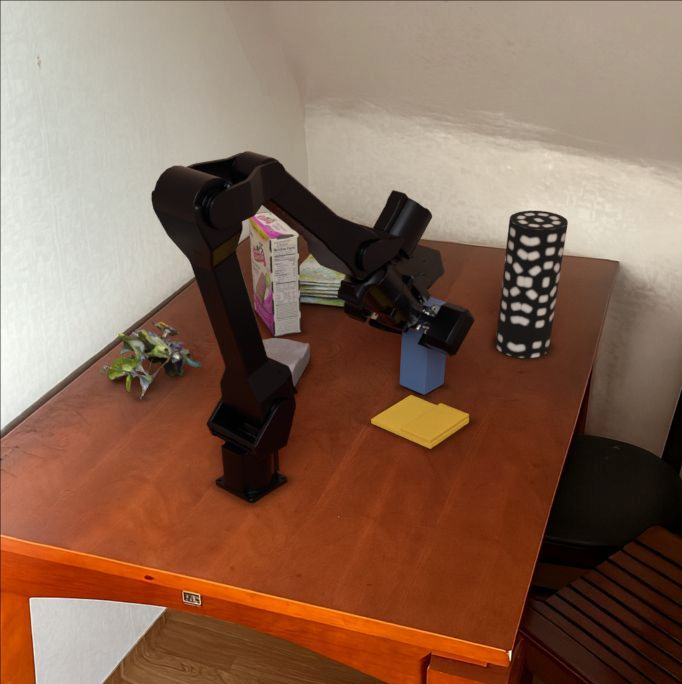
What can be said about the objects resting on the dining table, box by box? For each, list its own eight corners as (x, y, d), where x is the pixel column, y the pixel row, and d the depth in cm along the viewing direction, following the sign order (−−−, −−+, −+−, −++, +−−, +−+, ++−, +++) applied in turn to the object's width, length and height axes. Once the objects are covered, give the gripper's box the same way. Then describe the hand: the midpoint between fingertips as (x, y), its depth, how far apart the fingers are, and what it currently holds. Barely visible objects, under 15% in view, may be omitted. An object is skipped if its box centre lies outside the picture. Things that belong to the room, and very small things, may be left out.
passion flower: (173, 408, 142) (216, 351, 136) (140, 432, 132) (184, 371, 126) (116, 359, 141) (156, 299, 135) (78, 379, 131) (120, 315, 126)
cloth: (430, 449, 123) (430, 440, 122) (370, 423, 128) (371, 415, 127) (469, 422, 129) (469, 414, 128) (410, 398, 134) (411, 390, 133)
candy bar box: (252, 310, 157) (246, 213, 148) (280, 306, 159) (277, 209, 149) (272, 338, 149) (268, 237, 139) (302, 333, 151) (300, 232, 141)
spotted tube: (485, 339, 150) (499, 214, 138) (531, 331, 152) (548, 208, 140) (511, 361, 143) (527, 232, 131) (558, 353, 146) (579, 226, 134)
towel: (281, 304, 160) (281, 275, 157) (321, 260, 176) (320, 233, 173) (385, 318, 155) (386, 289, 152) (415, 272, 172) (417, 244, 169)
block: (424, 395, 134) (429, 313, 126) (399, 384, 136) (403, 304, 129) (443, 383, 137) (450, 303, 129) (419, 373, 139) (424, 294, 132)
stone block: (231, 401, 136) (296, 396, 133) (223, 370, 134) (289, 365, 131) (254, 366, 146) (316, 361, 143) (247, 337, 143) (309, 331, 141)
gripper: (473, 251, 115) (512, 308, 128) (358, 216, 125) (406, 272, 138) (429, 330, 115) (473, 380, 128) (318, 289, 125) (370, 338, 138)
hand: (430, 339), depth 133 cm, fingers closed on block, 4 cm apart
